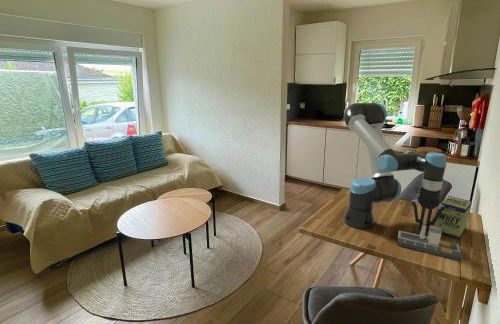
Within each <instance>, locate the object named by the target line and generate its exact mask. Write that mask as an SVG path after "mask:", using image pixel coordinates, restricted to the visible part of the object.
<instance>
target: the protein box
mask: <svg viewBox="0 0 500 324" xmlns="http://www.w3.org/2000/svg"><path fill="white" fill-rule="evenodd" d="M440 203H441V204H442V205H444V206H445V209H444V210H443V211H442V212H441V214H440V215H439V217H438V219H437V221H436V223H435V227H438V228H441V231H442V234H441V235H443V236H446V237H449V238H452V239H456V240H460V238H461V237H462V235H463V234H464V232H465V231H466V229H467V224H468V221H469V217H470V212H471V208H472V205H473V201H471V200H467V199H464V198H460V197H455V196H451V195H447V196H446V197H445V198H444V200H442V201H440Z"/></svg>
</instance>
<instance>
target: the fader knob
mask: <svg viewBox="0 0 500 324" xmlns="http://www.w3.org/2000/svg"><path fill="white" fill-rule="evenodd" d="M442 235H443V234H442V231H441V228H438V227H436V226H435V225H434V226H433V225H430V226H429V230H428V236H427V237H428V244H432V245H436V246H439V242H440V239H441V237H442Z"/></svg>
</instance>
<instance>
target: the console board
mask: <svg viewBox="0 0 500 324" xmlns="http://www.w3.org/2000/svg"><path fill="white" fill-rule="evenodd" d="M396 246H398V247H402V248H407V249H411V250H414V251H419V252H422V253H427V254H431V255H435V256H439V257H443V258H448V259H451V260H455V261H459V262H460V261H461V259H462V256H461V255H462V254H461V253H462V252H461V248H460V245H459V243H458V242H454V241H449V240H445V239H441V238H440V242H439V246H436V245H432V244H428V236H427V235H425V236H424V239H421V238H420V234H417V233H414V232H409V231H405V230H404V231H403V230H400V229H399V230H398V231H397V241H396Z"/></svg>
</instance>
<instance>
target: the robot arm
mask: <svg viewBox="0 0 500 324" xmlns="http://www.w3.org/2000/svg"><path fill="white" fill-rule="evenodd" d="M387 116H388V112H387V109H386V107H385V106H384V105H383V104H382V103H378V102H355V103H352V104H349V105H348V106H347V108H346V109H345V110H344V113H343V122H344V124H345V125H346V127H347V128H348V129H349V130H351V131H354V133H355V134H356V135H357V137H358V138H360V139H361V141H362V142H363V144H364V145H365V146H366V147H367V151H368V158H369V162H370V168H371V173H372V175H371V176H370V177H357V178H355V179H354V180H352V182H351V185H350V187H349V201H348V207H347V209H346V211H345V213H344V215H343V222H344V223H345V224H346V225H347V226H350V227H353V228H355V229H359V230H362V229H363V230H367V229H368V230H369V229H372V228H373V227H375V226H374V225H375V217H374V214H373V207H374V204H379V203H390V202H393V201H396V200H398V199H399V198H400V196H401V194H402V185H401V182H400V181H399V180H398V179H396V178H395V175H394V174H393V172H400V171H413V170H414V171H418V172H421V173H422V178H421V185H420V186H421V187H420V191H419V194H418V195H419V196H418V197H417V198H416V199H412V200H411V205H412V206H413V212H414V220H415V223H418V231H420V234H419V235H420V238H421V239H424V236H426V233H429V231H430V226H434V227H435V226H436V222H437V219H438V217H439V215H440V214H441V212H442V211H443V210H444V209H445V206H444V205H442V204H441V201H440V197H441V189H442V187H443V181H444V175H445V171H446V167H447V158H448V157H447V155H446V154H444V153H441V152H435V151H432V152H431V151H430V152H427V153H426V155H425V154H424V153H423V154H422V153H419V152H416V151H411V150H407V151H405V152H402V153H397V152H396V151H395V150H394V149H393V148H392V147H391V146H390V145H389V143H387V142H386V141H385V140H384V135H383V130H382V129H383V127H384V126H385V124H384V123H385V122H386V120H387ZM418 203H419V204H418ZM418 205H420V206H421V211H420V217H419V211H418ZM435 208H437V210H436V212H435V214H434V215H433V218H432V214H433V209H435ZM426 210H427V216H426V221H425V220H424V219H425V214H426ZM431 219H432V220H431ZM424 221H425V222H426V223H425V222H424Z"/></svg>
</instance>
